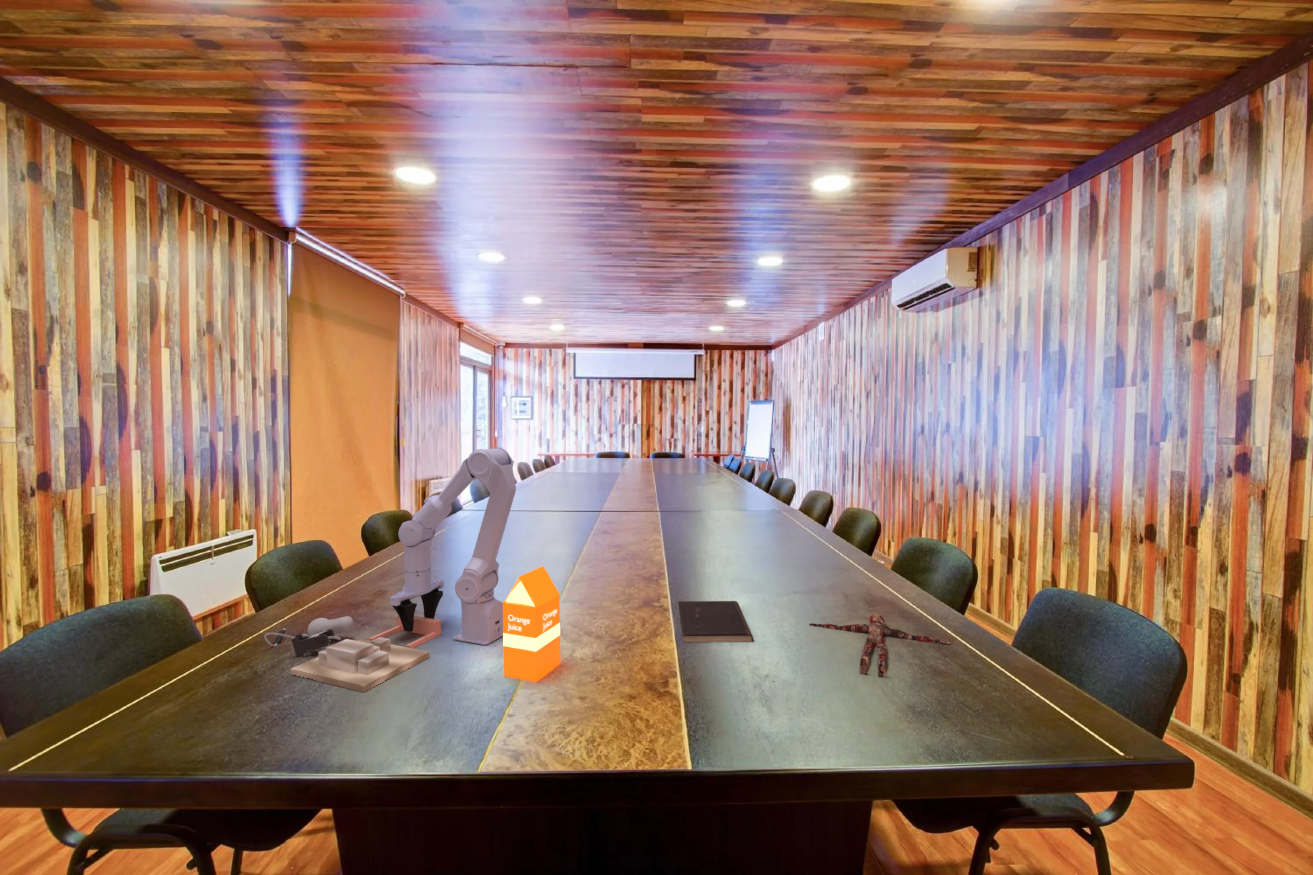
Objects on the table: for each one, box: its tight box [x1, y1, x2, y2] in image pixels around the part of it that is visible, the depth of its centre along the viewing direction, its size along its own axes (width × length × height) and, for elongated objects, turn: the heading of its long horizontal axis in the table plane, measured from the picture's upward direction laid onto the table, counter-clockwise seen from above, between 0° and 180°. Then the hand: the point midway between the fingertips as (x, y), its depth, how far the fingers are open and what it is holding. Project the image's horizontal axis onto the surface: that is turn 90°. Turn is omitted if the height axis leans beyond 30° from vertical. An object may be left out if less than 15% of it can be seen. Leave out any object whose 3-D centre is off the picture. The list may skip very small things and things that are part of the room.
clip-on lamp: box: [263, 615, 354, 658], centre depth 122 cm, size 12×6×18 cm
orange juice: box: [502, 565, 561, 683], centre depth 109 cm, size 8×9×20 cm
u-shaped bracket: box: [368, 615, 442, 649], centre depth 126 cm, size 10×12×3 cm
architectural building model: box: [290, 637, 431, 693], centre depth 112 cm, size 16×20×5 cm
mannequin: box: [808, 613, 951, 679], centre depth 122 cm, size 26×29×4 cm
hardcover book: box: [678, 600, 754, 643], centre depth 134 cm, size 16×23×2 cm
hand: (419, 626), depth 129 cm, fingers open, 6 cm apart
